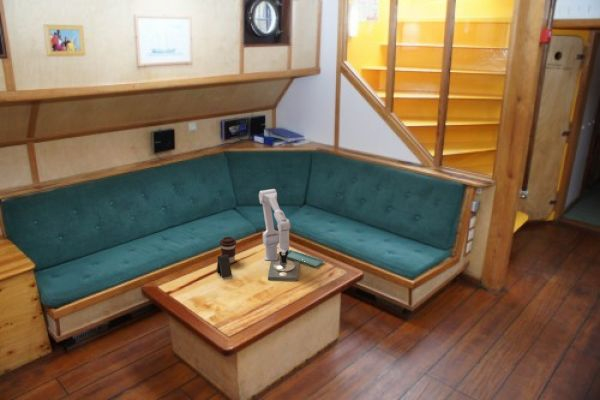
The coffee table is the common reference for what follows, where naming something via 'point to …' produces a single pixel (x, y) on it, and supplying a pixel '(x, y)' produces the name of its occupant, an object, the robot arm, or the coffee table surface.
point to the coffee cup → (228, 247)
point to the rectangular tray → (304, 259)
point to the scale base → (283, 273)
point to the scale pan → (284, 266)
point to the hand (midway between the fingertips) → (284, 260)
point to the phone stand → (224, 266)
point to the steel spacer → (281, 261)
